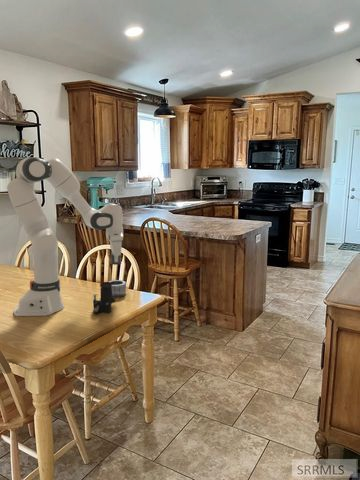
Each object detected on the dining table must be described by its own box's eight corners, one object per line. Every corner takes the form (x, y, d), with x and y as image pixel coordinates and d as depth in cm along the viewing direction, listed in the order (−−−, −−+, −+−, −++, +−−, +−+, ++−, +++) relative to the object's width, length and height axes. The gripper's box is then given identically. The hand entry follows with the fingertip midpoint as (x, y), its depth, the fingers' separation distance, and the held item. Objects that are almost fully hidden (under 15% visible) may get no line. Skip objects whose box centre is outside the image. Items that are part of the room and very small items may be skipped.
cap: (111, 264, 200) (110, 254, 199) (110, 262, 205) (109, 252, 204) (121, 264, 201) (121, 253, 200) (120, 261, 207) (120, 251, 205)
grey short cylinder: (107, 298, 201) (107, 286, 200) (106, 292, 210) (105, 280, 209) (127, 296, 203) (126, 285, 202) (124, 290, 213) (124, 279, 212)
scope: (92, 282, 183) (113, 280, 186) (93, 309, 185) (114, 307, 188) (93, 287, 175) (115, 285, 178) (94, 316, 178) (116, 313, 181)
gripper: (107, 231, 209) (107, 256, 212) (110, 238, 190) (111, 265, 193) (118, 230, 211) (119, 255, 214) (123, 237, 192) (123, 264, 194)
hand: (115, 260), depth 203 cm, fingers closed on cap, 5 cm apart
